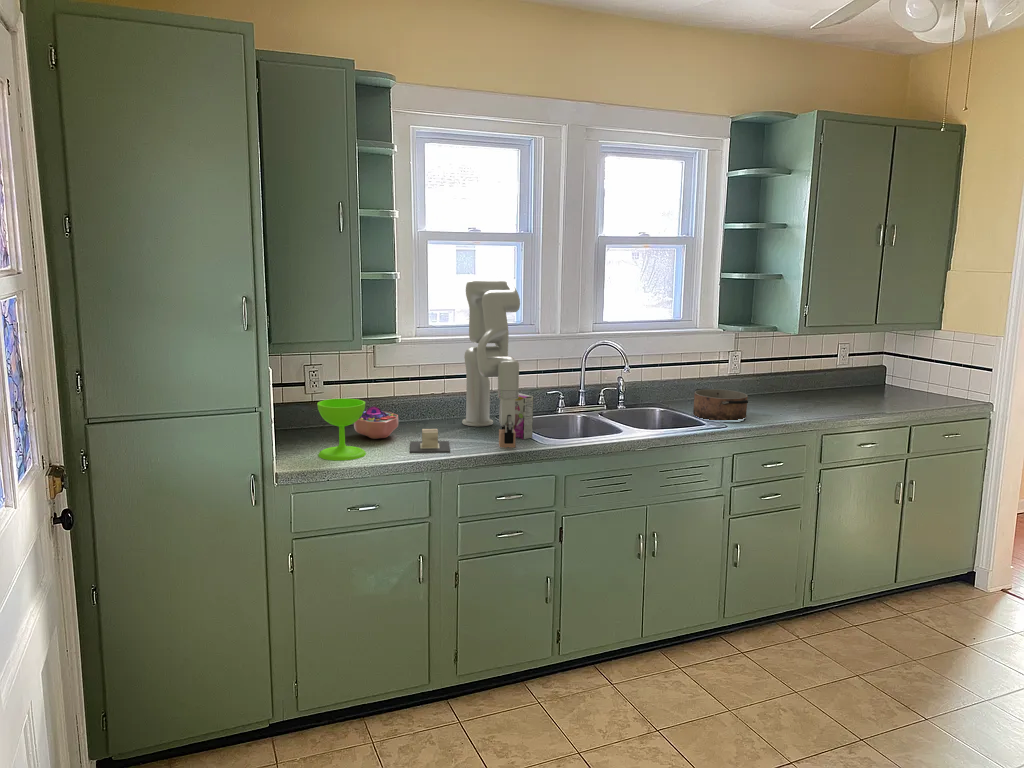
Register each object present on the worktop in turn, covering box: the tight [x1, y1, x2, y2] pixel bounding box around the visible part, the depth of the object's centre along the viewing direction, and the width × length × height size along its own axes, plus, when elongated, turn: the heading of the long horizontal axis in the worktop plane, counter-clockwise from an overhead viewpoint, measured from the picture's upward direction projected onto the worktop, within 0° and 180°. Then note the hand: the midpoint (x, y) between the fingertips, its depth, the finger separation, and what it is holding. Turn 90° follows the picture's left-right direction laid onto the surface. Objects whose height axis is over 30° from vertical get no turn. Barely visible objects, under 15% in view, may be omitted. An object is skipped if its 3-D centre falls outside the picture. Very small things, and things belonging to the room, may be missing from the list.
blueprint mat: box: [409, 440, 451, 454], centre depth 277 cm, size 14×14×1 cm
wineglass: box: [316, 398, 367, 462], centre depth 264 cm, size 16×16×18 cm
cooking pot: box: [692, 388, 749, 420], centre depth 338 cm, size 30×22×11 cm
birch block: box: [421, 428, 439, 448], centre depth 277 cm, size 6×6×6 cm
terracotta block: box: [498, 428, 517, 449], centre depth 282 cm, size 6×6×6 cm
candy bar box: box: [513, 392, 534, 440], centre depth 296 cm, size 11×5×16 cm, turn 41°
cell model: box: [353, 405, 399, 440], centre depth 290 cm, size 17×20×11 cm
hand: (507, 440), depth 282 cm, fingers open, 9 cm apart
